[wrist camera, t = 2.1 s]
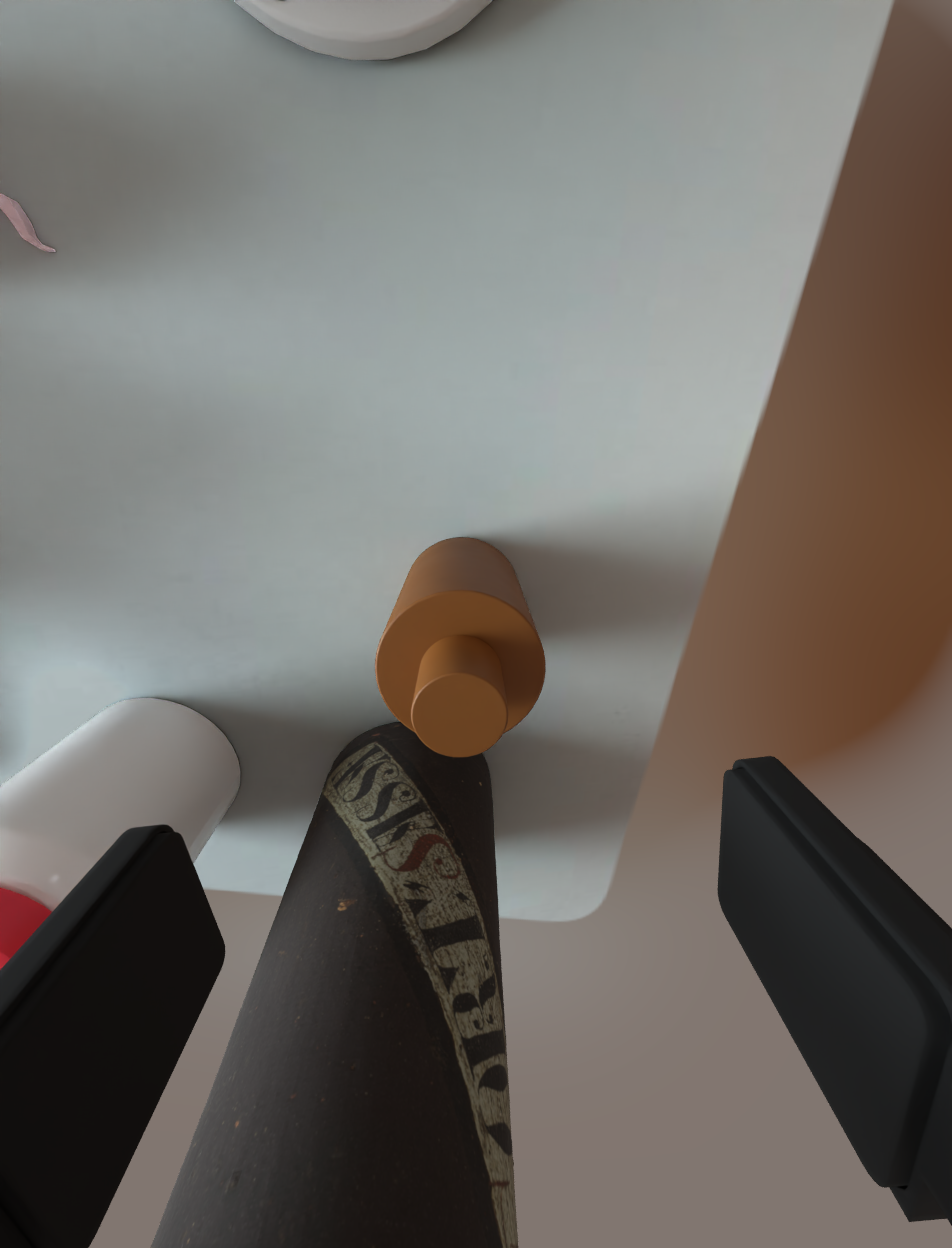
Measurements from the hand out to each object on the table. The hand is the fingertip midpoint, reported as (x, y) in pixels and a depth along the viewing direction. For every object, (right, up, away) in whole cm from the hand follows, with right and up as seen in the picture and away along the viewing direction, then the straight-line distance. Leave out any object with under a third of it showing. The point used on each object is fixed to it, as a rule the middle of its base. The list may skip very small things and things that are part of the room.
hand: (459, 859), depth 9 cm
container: (-3, -4, +17) cm, 18 cm away
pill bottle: (-15, -3, +16) cm, 23 cm away
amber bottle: (0, +5, +13) cm, 15 cm away
